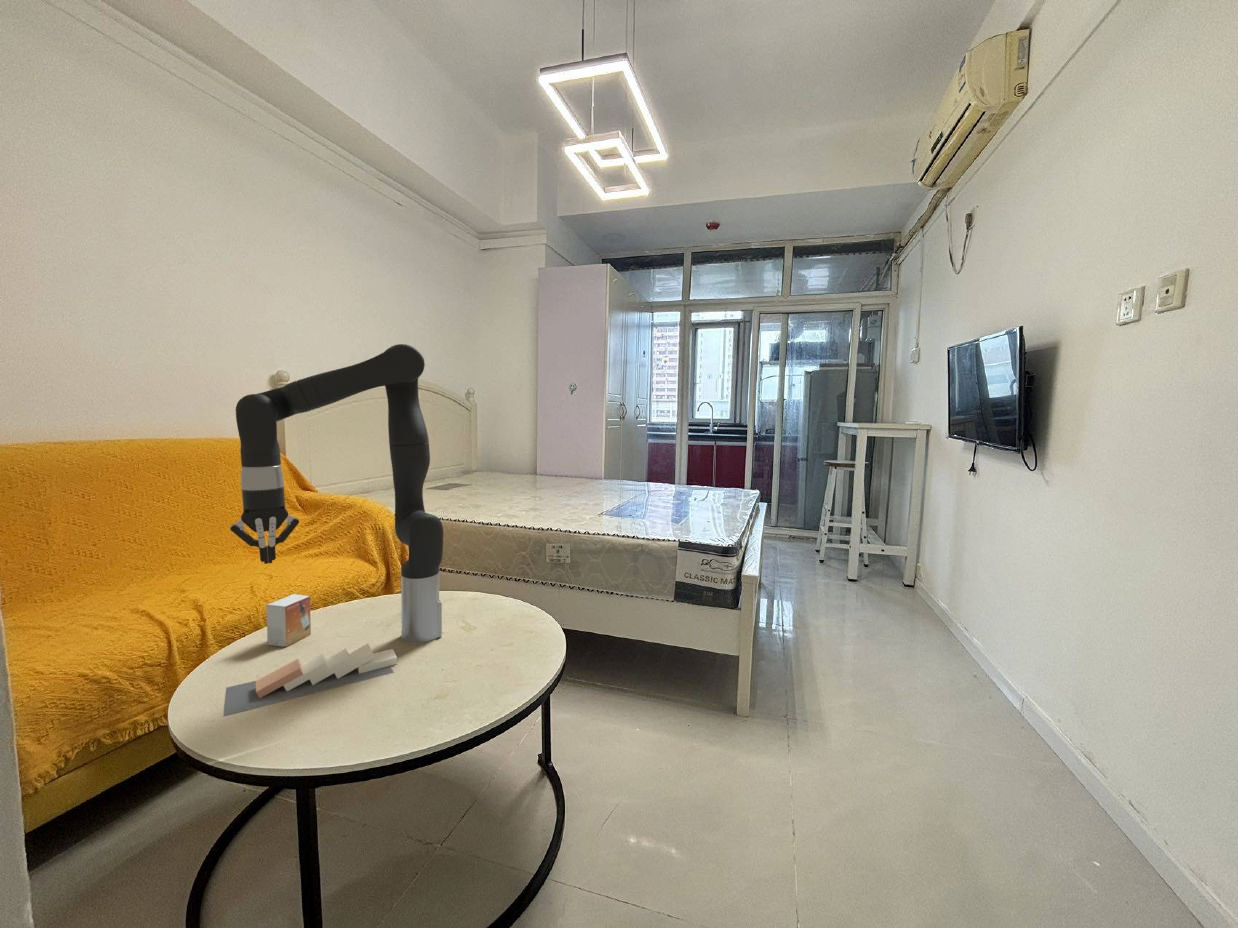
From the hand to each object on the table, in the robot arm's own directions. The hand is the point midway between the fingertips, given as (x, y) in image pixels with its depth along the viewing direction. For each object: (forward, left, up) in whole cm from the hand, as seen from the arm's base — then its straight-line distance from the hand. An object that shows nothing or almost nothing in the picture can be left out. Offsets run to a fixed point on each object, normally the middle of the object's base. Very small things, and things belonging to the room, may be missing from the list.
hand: (268, 562), depth 110 cm
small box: (-4, -14, -25) cm, 29 cm away
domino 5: (-16, +12, -23) cm, 30 cm away
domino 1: (+3, +12, -23) cm, 26 cm away
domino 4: (-11, +12, -23) cm, 28 cm away
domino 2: (-2, +12, -23) cm, 26 cm away
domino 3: (-6, +12, -23) cm, 27 cm away
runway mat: (-7, +12, -25) cm, 28 cm away
